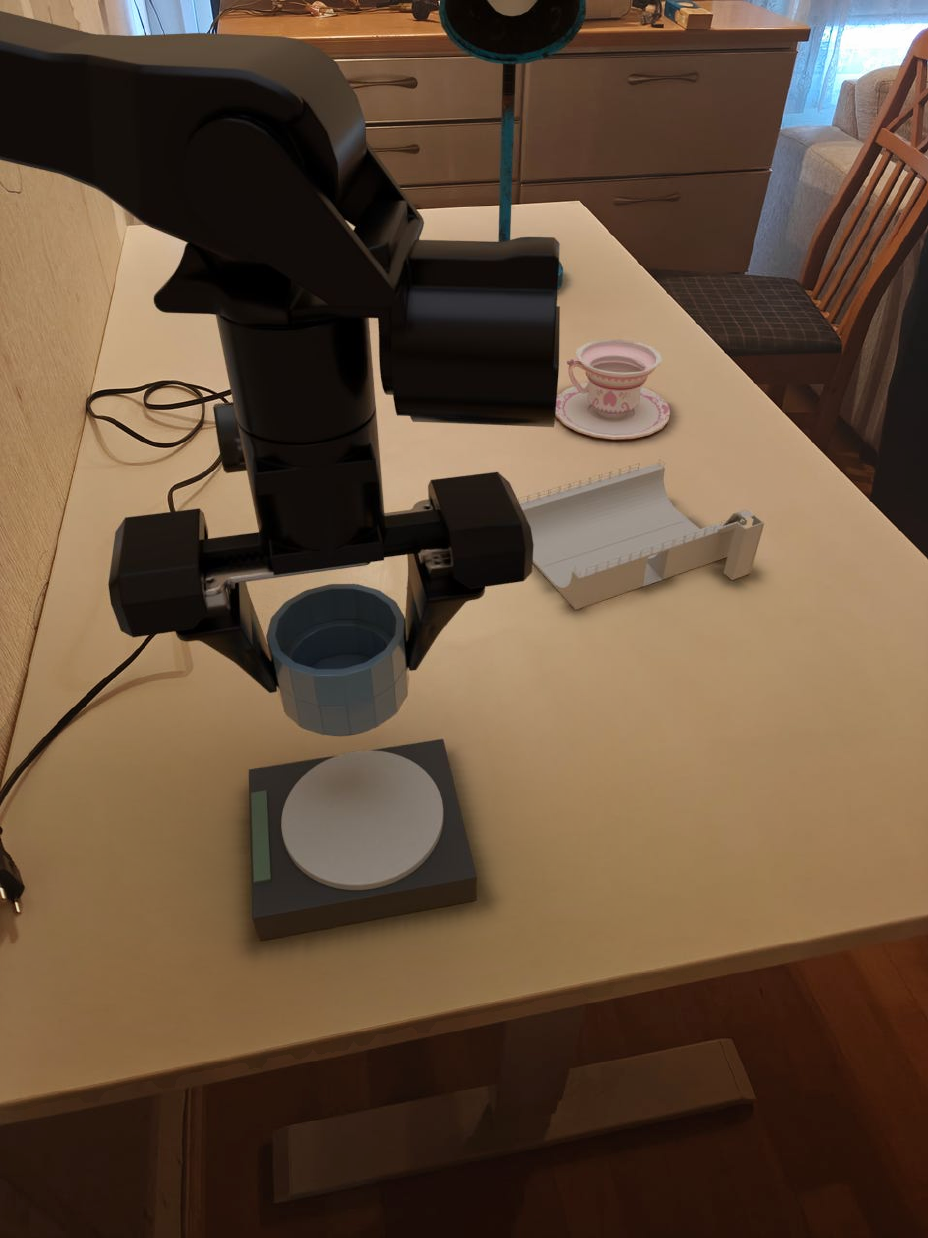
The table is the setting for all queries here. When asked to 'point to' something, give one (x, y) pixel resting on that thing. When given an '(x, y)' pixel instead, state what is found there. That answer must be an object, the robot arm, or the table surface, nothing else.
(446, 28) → the desk lamp
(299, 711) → the bowl
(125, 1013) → the table surface
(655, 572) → the skate ramp
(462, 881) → the scale
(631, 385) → the teacup
